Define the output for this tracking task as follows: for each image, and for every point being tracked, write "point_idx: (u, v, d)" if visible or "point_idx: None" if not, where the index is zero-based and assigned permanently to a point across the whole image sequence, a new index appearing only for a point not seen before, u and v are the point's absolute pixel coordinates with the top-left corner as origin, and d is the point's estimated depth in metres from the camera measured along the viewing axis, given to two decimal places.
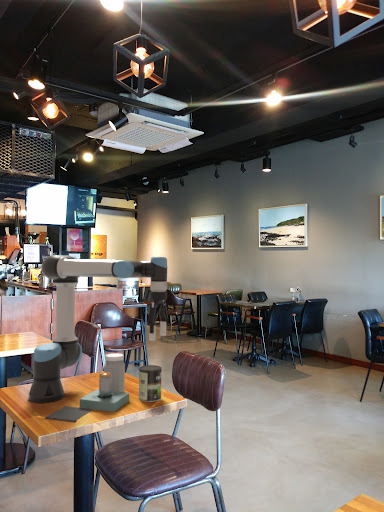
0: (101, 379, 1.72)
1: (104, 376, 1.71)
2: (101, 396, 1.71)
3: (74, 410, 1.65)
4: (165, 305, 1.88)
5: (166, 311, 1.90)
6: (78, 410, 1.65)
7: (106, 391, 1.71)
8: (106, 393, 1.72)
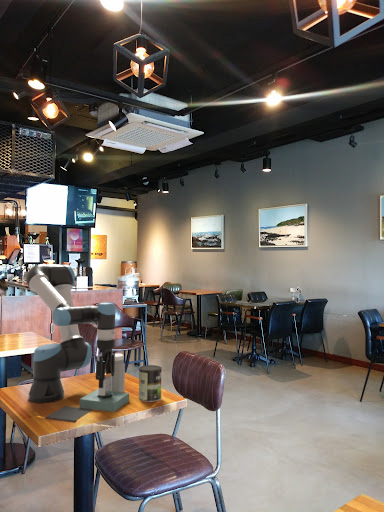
0: None
1: None
2: (101, 396, 1.71)
3: (74, 410, 1.65)
4: (113, 355, 1.79)
5: (113, 363, 1.79)
6: (78, 410, 1.65)
7: (106, 391, 1.71)
8: (106, 393, 1.72)
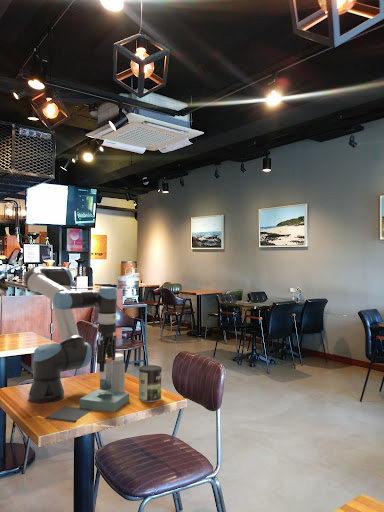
0: None
1: (105, 360, 1.72)
2: (102, 380, 1.72)
3: (74, 410, 1.65)
4: (114, 340, 1.79)
5: (114, 347, 1.79)
6: (78, 410, 1.65)
7: (107, 375, 1.72)
8: (107, 377, 1.72)
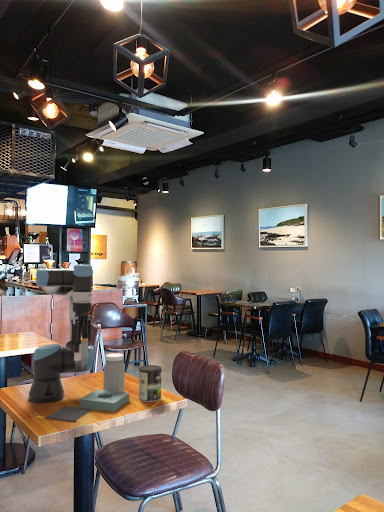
0: None
1: None
2: (77, 361, 1.64)
3: (74, 410, 1.65)
4: (90, 320, 1.71)
5: (90, 328, 1.71)
6: (78, 410, 1.65)
7: (82, 356, 1.64)
8: (83, 358, 1.64)
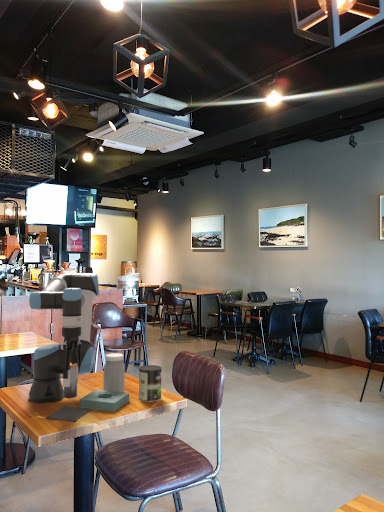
0: None
1: (69, 366, 1.60)
2: (66, 387, 1.60)
3: (74, 410, 1.65)
4: (81, 344, 1.68)
5: (80, 352, 1.68)
6: (78, 410, 1.65)
7: (71, 382, 1.60)
8: (72, 384, 1.60)
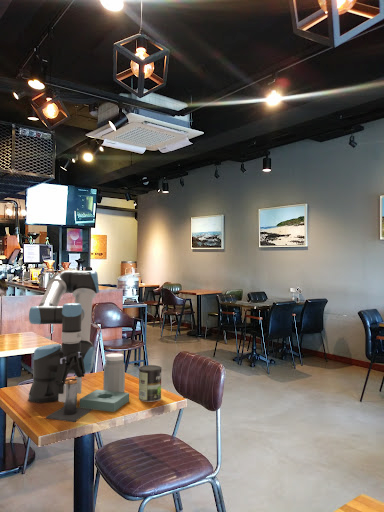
0: (66, 386, 1.61)
1: (69, 383, 1.60)
2: (66, 404, 1.60)
3: None
4: (81, 357, 1.68)
5: (82, 364, 1.69)
6: (78, 410, 1.65)
7: (71, 399, 1.60)
8: (72, 401, 1.60)
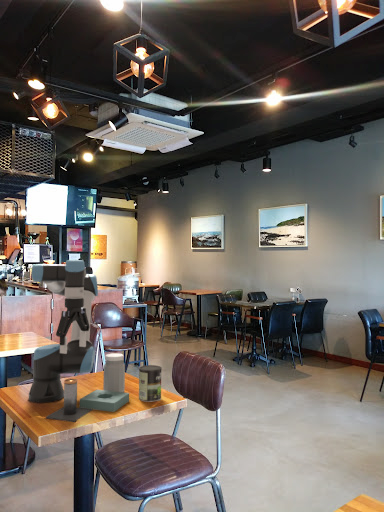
0: (66, 386, 1.61)
1: (69, 383, 1.60)
2: (66, 404, 1.60)
3: None
4: (84, 313, 1.71)
5: (86, 319, 1.72)
6: (78, 410, 1.65)
7: (71, 399, 1.60)
8: (71, 401, 1.60)
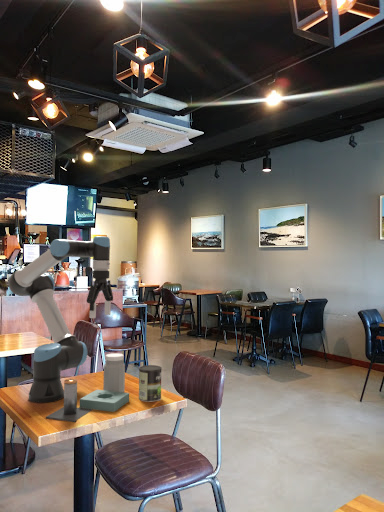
0: (66, 386, 1.61)
1: (69, 383, 1.60)
2: (66, 404, 1.60)
3: None
4: (109, 284, 1.92)
5: (111, 290, 1.93)
6: (78, 410, 1.65)
7: (71, 399, 1.60)
8: (71, 401, 1.60)
